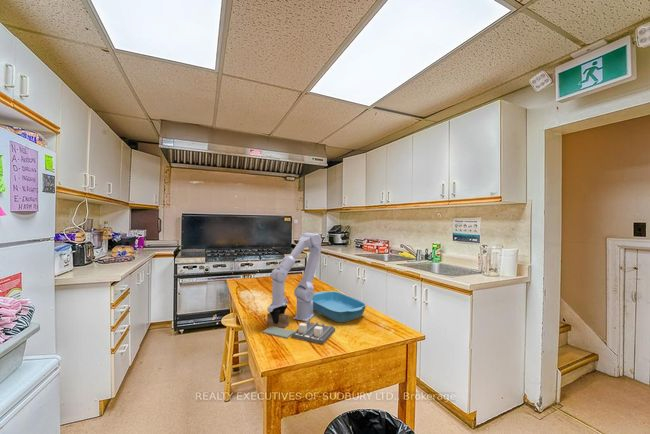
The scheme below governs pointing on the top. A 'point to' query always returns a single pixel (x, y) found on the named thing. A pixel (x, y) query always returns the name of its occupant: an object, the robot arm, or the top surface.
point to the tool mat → (278, 332)
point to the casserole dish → (338, 306)
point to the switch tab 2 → (318, 331)
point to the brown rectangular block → (279, 320)
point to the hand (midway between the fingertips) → (278, 321)
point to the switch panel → (310, 333)
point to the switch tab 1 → (302, 328)
